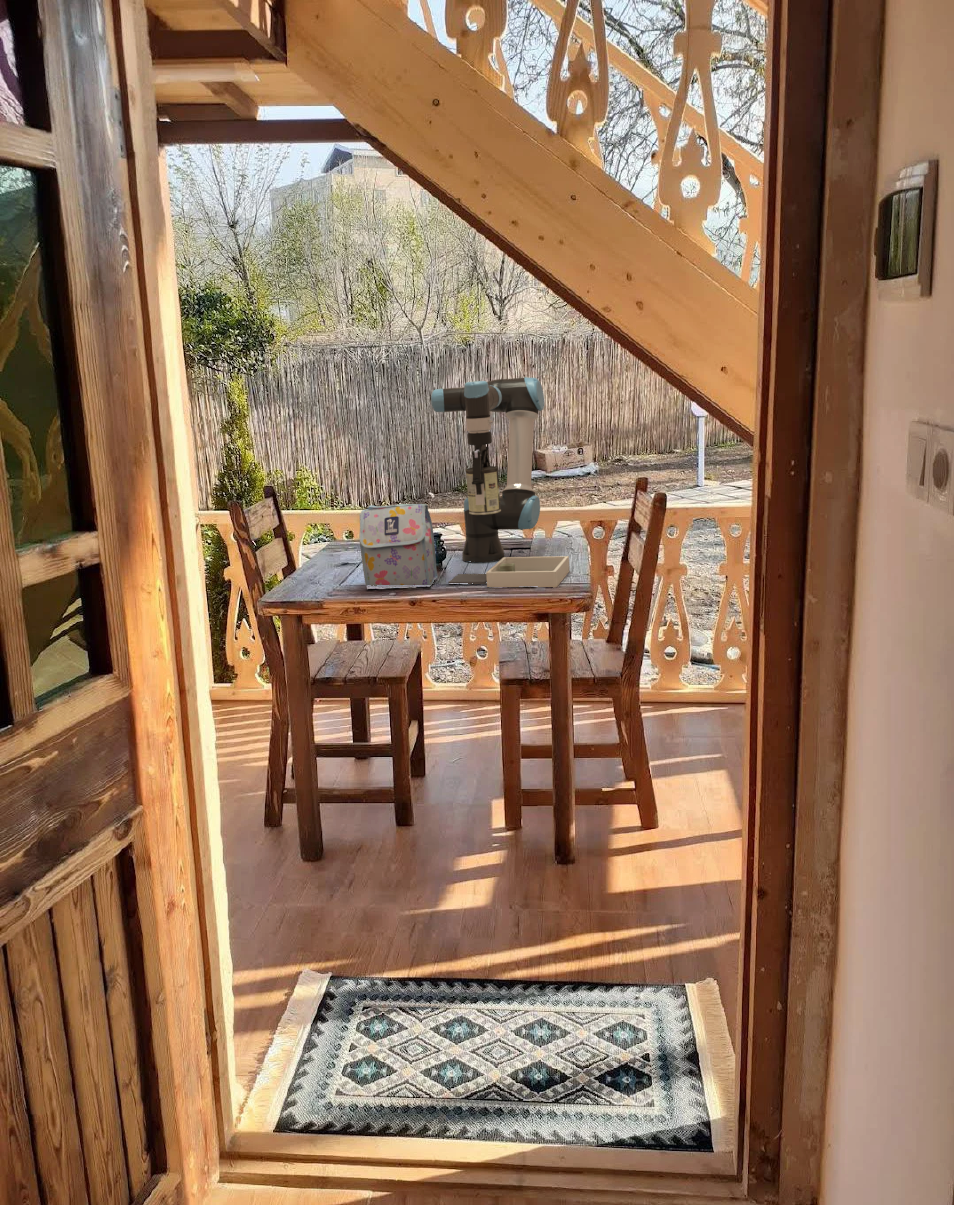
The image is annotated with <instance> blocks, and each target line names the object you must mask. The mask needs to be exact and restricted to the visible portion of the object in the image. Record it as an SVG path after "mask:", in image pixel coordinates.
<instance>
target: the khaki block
mask: <svg viewBox="0 0 954 1205" xmlns="http://www.w3.org/2000/svg"><path fill="white" fill-rule="evenodd" d="M500 572H515V563H508V564H502V565H501V566H500Z"/></svg>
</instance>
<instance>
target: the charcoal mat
mask: <svg viewBox="0 0 954 1205" xmlns="http://www.w3.org/2000/svg"><path fill="white" fill-rule="evenodd" d="M486 582H487V577H486V573H458V574H457V575H456V576H454V577H453V578H452V579H450V580H449V581H448V584H449V583H468V584H472V583H473V584H485V585H487V583H486Z"/></svg>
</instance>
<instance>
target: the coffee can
mask: <svg viewBox="0 0 954 1205" xmlns="http://www.w3.org/2000/svg"><path fill="white" fill-rule="evenodd" d="M481 471H482V474H483V483H482V484H484V498H485V505H476V497H475V484H473V485H472V482H473V467H469V468H465V473H466V475H465V476H466V486H467V487H466V488H467V489H466V490H467V498H468V502H469V514H472V515H485V514H494V513H498V512H500V511H501V510H500V497H501V496H500V483H499V467H498V466H496V465H495V466H493V465H490V466H488V467H483V470H481Z"/></svg>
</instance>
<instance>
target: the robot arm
mask: <svg viewBox="0 0 954 1205" xmlns="http://www.w3.org/2000/svg"><path fill="white" fill-rule="evenodd" d="M430 403H431V408H432V410H433V411H434V412H435V413H450V412H451V413H453V412H465V417H466V422H465V423H466V431H467V432H468V433H467V444H468V445H469V446H474V450H472V452H471V454H472V456H471V457H472V468H473V482H472V485H473V484H475V497H476V505H485V498H484V484H482V483H483V474H482V471H481V470H483V467H488V466H491V460H490V449H489V448H490V447H489V446H487V445H490V444H492V442H493V440H492V431H491V429H492V427H491V426H492V423H493V420H492V419H491V413H492V412H493V413H505V417H506V418H507V419H508V421H509V427H508V430H509V431H508V449H507V450H508V453H507V454H508V455H507V473H506V474H507V475H506V476H507V477H506V486H505V488H504V489H502V490H501V496H500V510H501V511H500V512H498V513H494V514H485V515H472V514H469V502H468V497H466V498H465V499H464V501H463V515H464V530H465V542H464V546H463V549H462V554H461V555H462V561H463V562H465V561H471V562H470V563H472V562H482V563H491V562H497V561H498V562H499V561H500V560H501V559H502V558H503V557H506V556H505V551H504V550H505V549H504V548H503V545H502V543H501V540H500V536H499V531H503V530H504V531H505V530H507V531H509V530H511V531H512V530H513V531H515V530H517V531H518V530H519V531H523V530H531V529H533V528H535V527H536V526H537V523H538V521H539V519H540V514H541V513H540V512H541V500H540V497H539V496H537V495H536V491H535V490H534V489H533V488H532V475H533V474H532V473H533V452H534V451H533V447H534V445H533V444H534V425H535V421H536V420H537V419H538V418H539V412H542V411H543V410H544V408H545V395H544V390H543V387H542V384H541V382H540V380H539V378H537V377H527V376H525V377H517V378H516V377H515V378H498V379H492V380H488V381H486V380H474V381H467V382H465V384H464V387H463V386H462V387H450V388H449V387H448V388H446V387H445V388H435V389H434V390H432V392H431V397H430Z"/></svg>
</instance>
